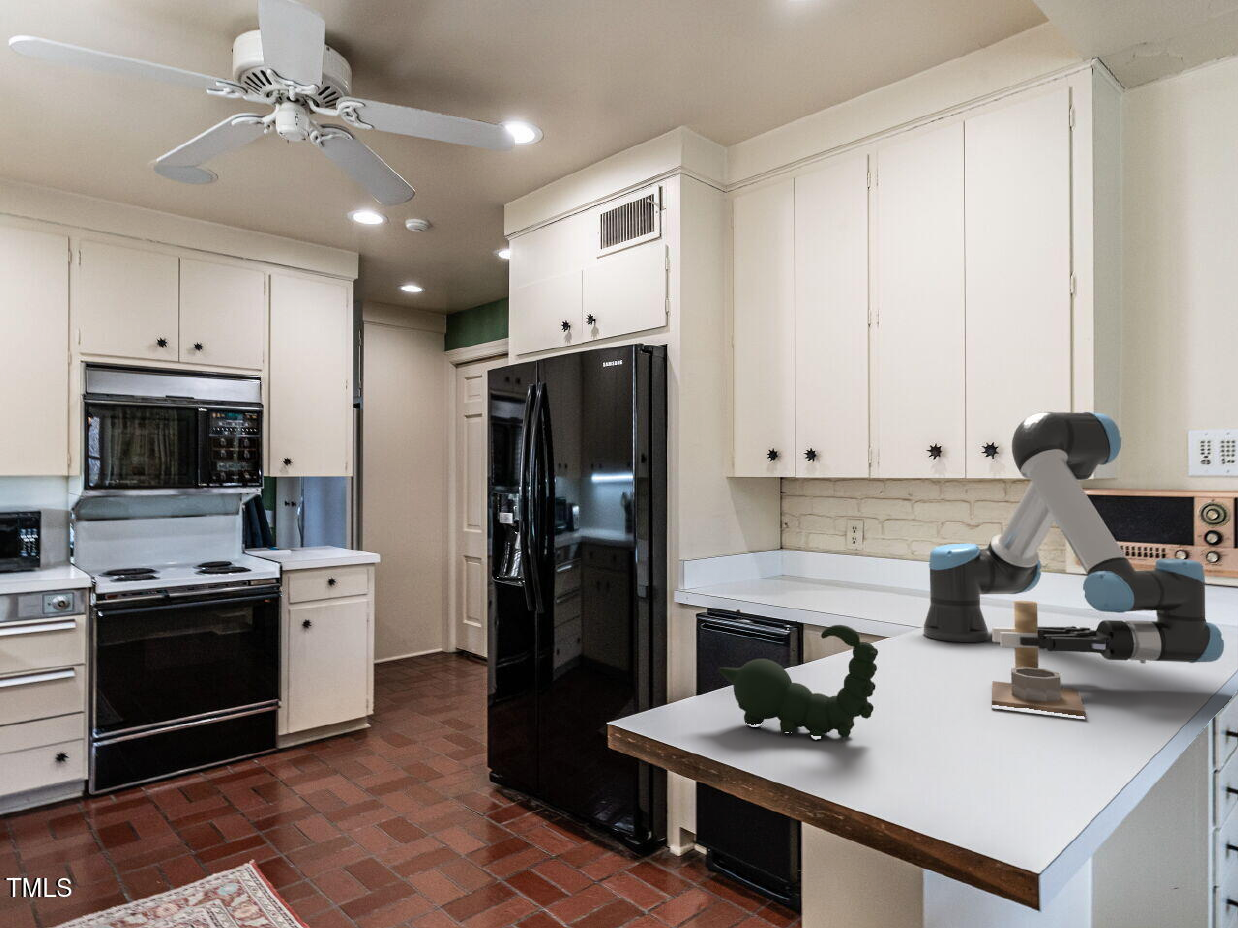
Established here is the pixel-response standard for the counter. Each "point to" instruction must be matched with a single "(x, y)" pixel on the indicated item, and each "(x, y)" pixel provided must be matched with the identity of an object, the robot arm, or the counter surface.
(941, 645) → the counter surface
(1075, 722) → the counter surface
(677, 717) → the counter surface
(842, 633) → the toy figurine
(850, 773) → the counter surface
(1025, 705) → the cup bracket
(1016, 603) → the oak cylinder
